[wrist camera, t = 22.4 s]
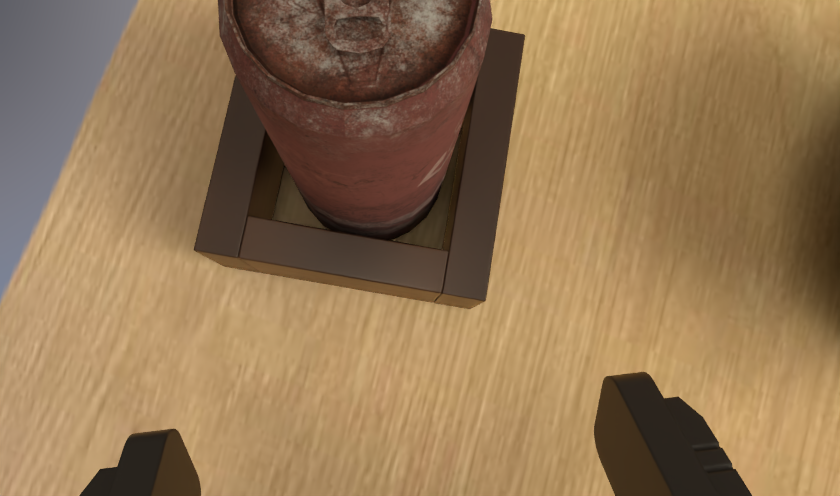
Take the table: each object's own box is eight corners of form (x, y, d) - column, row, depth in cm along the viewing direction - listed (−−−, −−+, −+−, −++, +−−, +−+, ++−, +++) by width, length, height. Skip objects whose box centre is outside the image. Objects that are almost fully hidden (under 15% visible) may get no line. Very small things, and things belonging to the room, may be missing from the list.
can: (376, 79, 27) (365, -206, 13) (468, 184, 26) (559, 1, 13) (268, 162, 26) (135, -53, 12) (361, 272, 25) (332, 179, 12)
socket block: (223, 266, 25) (192, 250, 21) (275, 37, 27) (256, -16, 23) (470, 309, 25) (485, 301, 21) (505, 79, 27) (525, 34, 23)
